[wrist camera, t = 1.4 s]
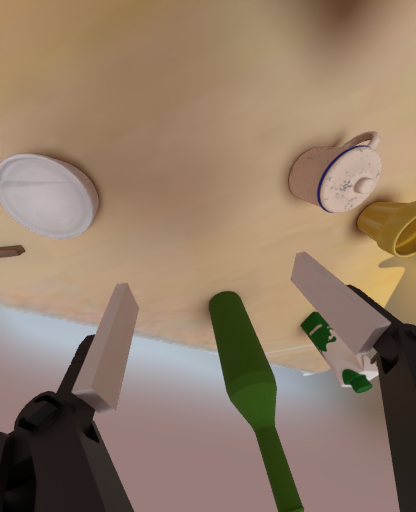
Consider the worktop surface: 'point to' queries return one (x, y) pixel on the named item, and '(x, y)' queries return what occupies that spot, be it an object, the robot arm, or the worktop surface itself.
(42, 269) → the worktop surface
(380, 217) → the plant pot
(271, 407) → the wine bottle
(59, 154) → the worktop surface
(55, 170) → the ramekin
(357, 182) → the teacup with lid
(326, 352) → the milk carton
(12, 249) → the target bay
